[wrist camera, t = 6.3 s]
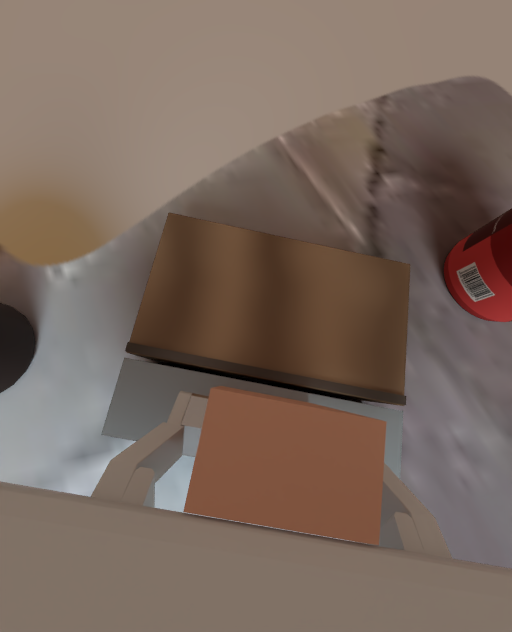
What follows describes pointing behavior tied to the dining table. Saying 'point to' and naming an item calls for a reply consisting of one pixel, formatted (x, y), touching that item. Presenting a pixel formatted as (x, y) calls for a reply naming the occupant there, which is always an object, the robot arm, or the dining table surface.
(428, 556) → the robot arm
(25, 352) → the bottle
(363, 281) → the block
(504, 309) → the canned food
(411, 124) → the dining table surface
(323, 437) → the stub
